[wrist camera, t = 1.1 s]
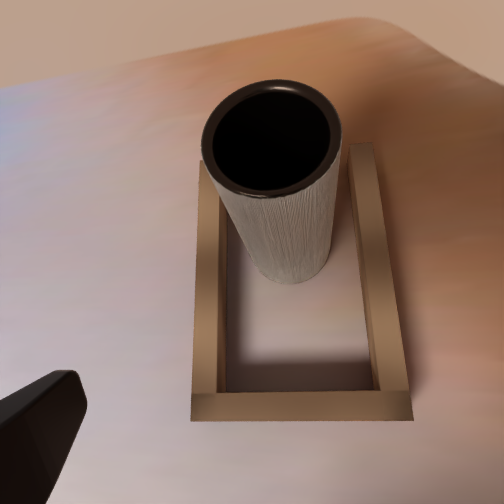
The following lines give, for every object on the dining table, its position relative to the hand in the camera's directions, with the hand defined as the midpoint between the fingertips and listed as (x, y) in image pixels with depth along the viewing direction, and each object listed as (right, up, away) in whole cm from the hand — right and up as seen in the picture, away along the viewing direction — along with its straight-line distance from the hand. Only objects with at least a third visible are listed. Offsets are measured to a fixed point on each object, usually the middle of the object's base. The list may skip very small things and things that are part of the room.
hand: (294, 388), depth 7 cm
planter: (+1, +3, +14) cm, 15 cm away
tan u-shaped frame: (+1, +1, +13) cm, 14 cm away
